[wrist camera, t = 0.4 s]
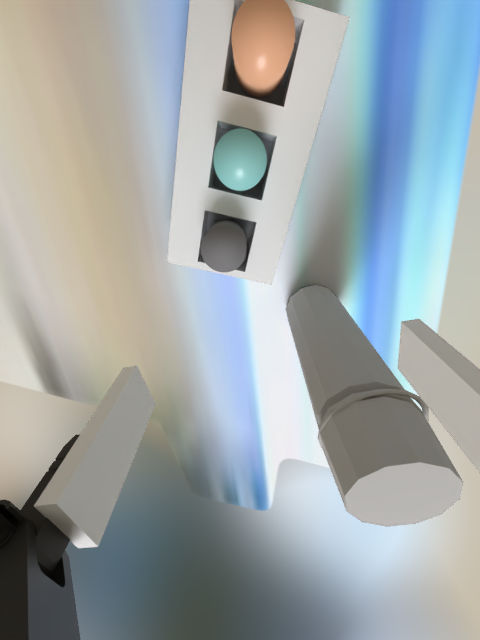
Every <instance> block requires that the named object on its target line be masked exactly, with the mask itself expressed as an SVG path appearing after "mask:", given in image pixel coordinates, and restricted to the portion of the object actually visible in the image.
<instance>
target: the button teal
mask: <svg viewBox="0 0 480 640" xmlns="http://www.w3.org/2000/svg"><path fill="white" fill-rule="evenodd" d="M266 165H267V154H266V150H265V147H264V144H263V143H262V141H261V139H260V138H259V137H258V136H257V135H256V134H255V133H253V132H252V131H250V130H247V129H234V130H231V131H229V132H227V133H226V134H225V135H223V136H222V137H221V139H220V140H219V142H218V143H217V145H216V148H215V151H214V168H215V171H216V174H217V176H218V178H219V179H220V181H221V182H222V183H223V184H224V185H225V186H227V187H228V188H230V189H233V190H237V191H243V190H248V189H250V188H252V187H254V186H255V185H256V184H257V183H258V182H259V181H260V180H261V178H262V177H263V175H264V172H265V169H266Z"/></svg>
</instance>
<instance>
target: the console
mask: <svg viewBox="0 0 480 640" xmlns="http://www.w3.org/2000/svg"><path fill="white" fill-rule="evenodd" d="M244 1H245V0H190V4H189V15H188V27H187V38H186V50H185V62H184V73H183V85H182V96H181V108H180V119H179V131H178V142H177V154H176V165H175V177H174V188H173V200H172V211H171V223H170V234H169V246H168V257H167V262H169V263H174V264H179V265H183V266H188V267H192V268H197V269H202V270H206V271H211V272H215V273H220V274H225V275H229V276H234V277H238V278H243V279H248V280H252V281H257V282H262V283H266V284H271V285H272V282H273V278H274V275H275V271H276V268H277V265H278V261H279V258H280V254H281V251H282V247H283V244H284V241H285V237H286V234H287V230H288V227H289V223H290V220H291V217H292V213H293V210H294V206H295V203H296V199H297V196H298V193H299V189H300V186H301V182H302V179H303V176H304V172H305V169H306V165H307V162H308V158H309V155H310V152H311V148H312V145H313V141H314V138H315V134H316V131H317V128H318V124H319V121H320V117H321V114H322V111H323V107H324V104H325V100H326V97H327V93H328V90H329V87H330V83H331V80H332V76H333V73H334V69H335V66H336V63H337V59H338V56H339V52H340V49H341V45H342V42H343V39H344V35H345V32H346V28H347V25H348V22H349V18H350V17H347V16H344V15H341V14H337V13H334V12H331V11H328V10H324V9H321V8H318V7H314V6H311V5H308V4H305V3H301V2H298V1H295V0H284V1H285V2H286V3H287V4H288V6H289V8H290V10H291V12H292V15H293V18H294V23H295V43H294V48H293V51H292V54H291V57H290V60H289V63H288V65H287V68H286V71H285V74H284V77H283V79H282V81H281V83H280V85H279V86H278V87H277V89H276V90H275V91H274V92H272V93H271V94H269V95H267V96H265V97H254V96H251V95H249V94H248V93H246V92H245V91H244V90H243V89H242V87H241V86H240V84H239V82H238V80H237V77H236V73H235V66H234V58H233V50H232V26H233V22H234V18H235V16H236V13H237V11H238V9H239V7H240V6H241V5H242V3H243V2H244ZM234 129H247V130H250V131H252V132H253V133H255V134H256V135H257V136H258V137H259V138H260V139H261V141H262V143H263V144H264V147H265V150H266V154H267V165H266V169H265V172H264V175H263V177H262V178H261V180H260V181H259V182H258V183H257V184H256V185H255V186H254V187H252V188H250V189H248V190H243V191H237V190H233V189H230V188H228V187H227V186H225V185H224V184H223V183H222V182H221V181H220V179H219V178H218V176H217V174H216V171H215V168H214V151H215V148H216V145H217V143H218V142H219V140H220V139H221V137H222V136H223V135H225V134H226V133H227V132H229V131H231V130H234ZM221 219H232V220H235V221H237V222H238V223H239V224H241V226H242V227H243V228H244V230H245V232H246V237H247V247H246V257H245V259H244V261H243V263H242V264H241V265H240V266H239V267H238V268H237V269H235V270H234V271H231V272H218V271H215V270H213V269H211V268H210V267H209V266H208V265H207V264H206V263H205V262H204V260H203V258H202V255H201V242H202V239H203V237H204V236H205V234H206V233H207V232H208V230H209V229H210V228H211V226H212V225H213V224H214V223H215V222H217V221H218V220H221Z"/></svg>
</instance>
